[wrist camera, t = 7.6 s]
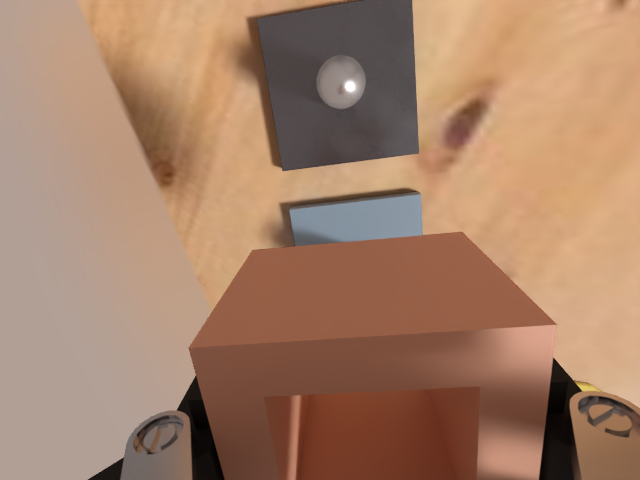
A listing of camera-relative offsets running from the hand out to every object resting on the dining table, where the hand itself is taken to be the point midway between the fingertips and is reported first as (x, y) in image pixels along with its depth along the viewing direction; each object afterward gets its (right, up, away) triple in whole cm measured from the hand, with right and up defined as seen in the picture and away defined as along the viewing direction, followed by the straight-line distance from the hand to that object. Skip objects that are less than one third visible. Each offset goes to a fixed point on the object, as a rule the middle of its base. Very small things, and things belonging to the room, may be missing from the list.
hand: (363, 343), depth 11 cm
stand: (0, +14, +14) cm, 20 cm away
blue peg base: (+2, +2, +18) cm, 19 cm away
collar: (0, 0, +1) cm, 1 cm away
